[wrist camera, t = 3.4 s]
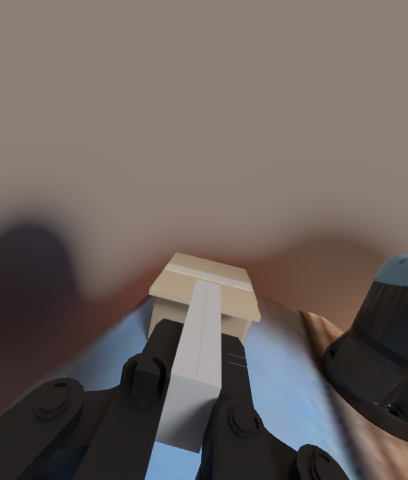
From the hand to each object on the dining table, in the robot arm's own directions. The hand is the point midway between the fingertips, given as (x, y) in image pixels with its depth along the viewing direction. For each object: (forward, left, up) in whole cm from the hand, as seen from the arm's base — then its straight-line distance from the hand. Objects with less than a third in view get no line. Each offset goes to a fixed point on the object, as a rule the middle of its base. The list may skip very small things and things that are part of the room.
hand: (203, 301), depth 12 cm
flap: (-7, -16, -7) cm, 19 cm away
